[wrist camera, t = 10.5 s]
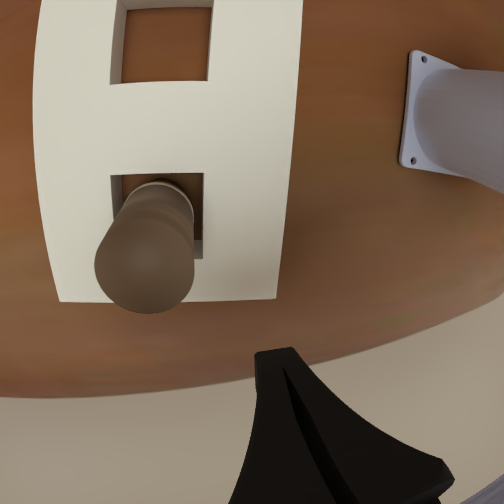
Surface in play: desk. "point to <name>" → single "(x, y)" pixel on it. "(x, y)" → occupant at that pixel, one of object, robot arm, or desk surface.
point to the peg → (149, 249)
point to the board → (167, 138)
